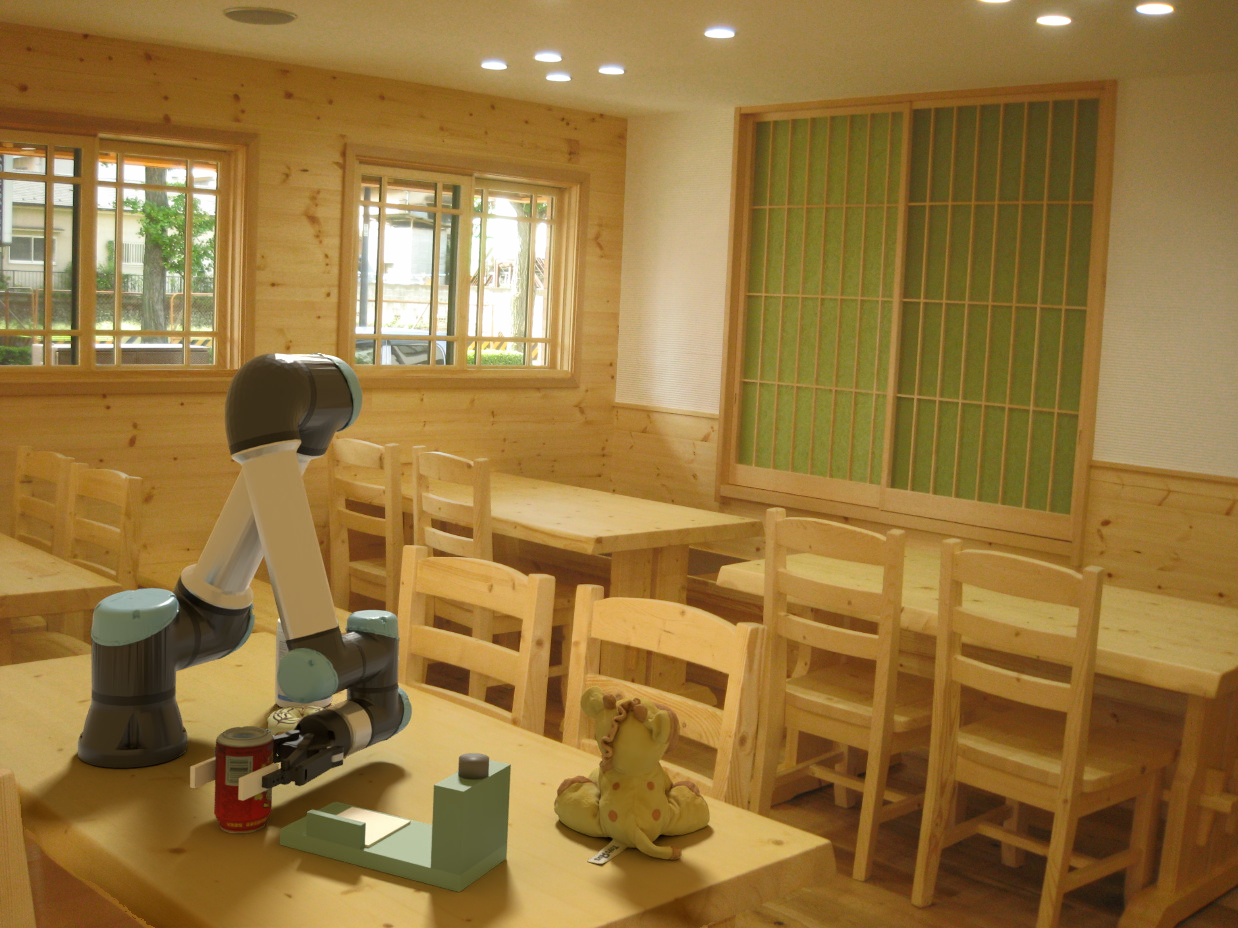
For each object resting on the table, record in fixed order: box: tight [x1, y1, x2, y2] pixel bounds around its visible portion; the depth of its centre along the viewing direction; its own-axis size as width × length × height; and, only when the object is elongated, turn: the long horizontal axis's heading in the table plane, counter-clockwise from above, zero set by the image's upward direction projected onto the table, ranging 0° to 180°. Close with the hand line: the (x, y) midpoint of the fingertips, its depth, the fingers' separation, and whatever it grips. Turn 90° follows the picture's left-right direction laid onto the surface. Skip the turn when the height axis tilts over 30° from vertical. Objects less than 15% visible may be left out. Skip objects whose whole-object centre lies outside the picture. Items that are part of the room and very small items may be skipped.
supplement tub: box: [274, 617, 334, 709], centre depth 213 cm, size 10×10×15 cm
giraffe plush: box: [553, 685, 711, 865], centre depth 165 cm, size 20×24×19 cm
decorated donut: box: [266, 706, 326, 736], centre depth 198 cm, size 10×11×4 cm
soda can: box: [213, 725, 273, 834], centre depth 161 cm, size 7×7×12 cm
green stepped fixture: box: [279, 752, 512, 893], centre depth 155 cm, size 26×11×14 cm, turn 65°
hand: (216, 783), depth 156 cm, fingers closed on soda can, 7 cm apart
